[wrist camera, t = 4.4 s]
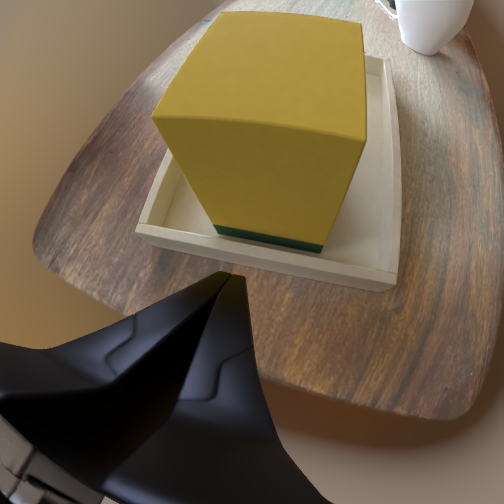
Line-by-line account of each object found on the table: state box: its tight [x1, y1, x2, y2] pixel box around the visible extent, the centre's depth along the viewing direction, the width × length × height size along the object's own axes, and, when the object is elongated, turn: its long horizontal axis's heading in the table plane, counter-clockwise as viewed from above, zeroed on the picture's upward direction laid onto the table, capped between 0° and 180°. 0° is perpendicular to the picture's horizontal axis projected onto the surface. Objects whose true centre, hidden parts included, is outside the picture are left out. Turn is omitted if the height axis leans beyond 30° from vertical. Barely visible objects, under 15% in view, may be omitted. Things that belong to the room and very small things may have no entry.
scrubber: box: [151, 11, 367, 254], centre depth 12 cm, size 7×6×10 cm
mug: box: [374, 0, 474, 56], centre depth 17 cm, size 12×8×11 cm
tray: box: [135, 52, 402, 293], centre depth 18 cm, size 19×14×2 cm
